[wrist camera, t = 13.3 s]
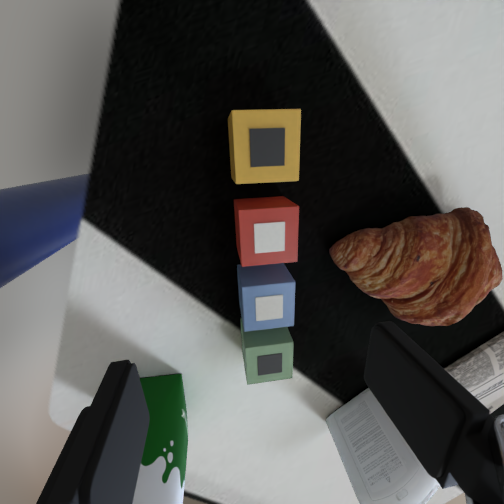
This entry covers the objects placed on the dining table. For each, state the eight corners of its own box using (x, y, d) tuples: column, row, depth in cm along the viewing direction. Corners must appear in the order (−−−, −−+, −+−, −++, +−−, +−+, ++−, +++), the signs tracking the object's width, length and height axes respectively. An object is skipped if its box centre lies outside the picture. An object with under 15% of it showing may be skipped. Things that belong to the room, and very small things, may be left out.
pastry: (364, 335, 34) (406, 387, 26) (322, 242, 28) (361, 276, 20) (481, 274, 33) (558, 310, 25) (463, 164, 27) (558, 169, 19)
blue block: (239, 303, 29) (244, 332, 25) (236, 264, 27) (241, 287, 23) (281, 299, 30) (294, 326, 25) (282, 260, 28) (295, 282, 23)
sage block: (242, 351, 32) (247, 385, 27) (240, 318, 30) (245, 349, 25) (281, 346, 32) (292, 378, 28) (281, 313, 31) (293, 342, 26)
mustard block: (231, 177, 24) (235, 184, 19) (227, 118, 22) (231, 109, 17) (282, 175, 25) (299, 181, 20) (283, 117, 23) (302, 108, 18)
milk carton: (194, 415, 35) (173, 712, 16) (124, 424, 34) (17, 756, 15) (188, 366, 31) (154, 668, 13) (110, 374, 30) (-47, 720, 12)
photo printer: (335, 430, 40) (383, 539, 29) (320, 419, 39) (364, 530, 28) (387, 392, 39) (460, 492, 27) (373, 379, 37) (443, 479, 26)
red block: (233, 199, 25) (238, 210, 20) (283, 196, 25) (299, 206, 21) (236, 247, 27) (241, 267, 22) (283, 243, 27) (297, 262, 22)
